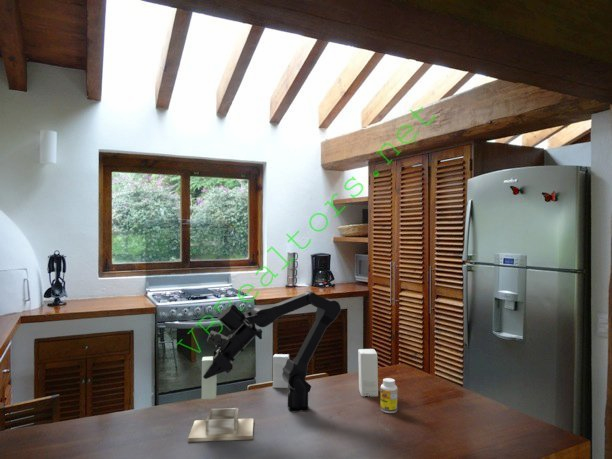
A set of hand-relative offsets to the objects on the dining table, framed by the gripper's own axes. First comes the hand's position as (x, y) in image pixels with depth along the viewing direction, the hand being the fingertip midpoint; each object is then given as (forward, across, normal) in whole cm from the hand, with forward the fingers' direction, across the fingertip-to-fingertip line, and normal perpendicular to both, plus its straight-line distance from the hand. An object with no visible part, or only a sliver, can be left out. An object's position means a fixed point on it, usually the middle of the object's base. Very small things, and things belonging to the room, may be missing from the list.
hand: (204, 375), depth 137 cm
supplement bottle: (-33, +3, +53) cm, 62 cm away
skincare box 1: (-10, -26, +29) cm, 40 cm away
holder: (+5, +10, +14) cm, 18 cm away
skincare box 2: (-32, -14, +51) cm, 62 cm away
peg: (+4, 0, +6) cm, 7 cm away
